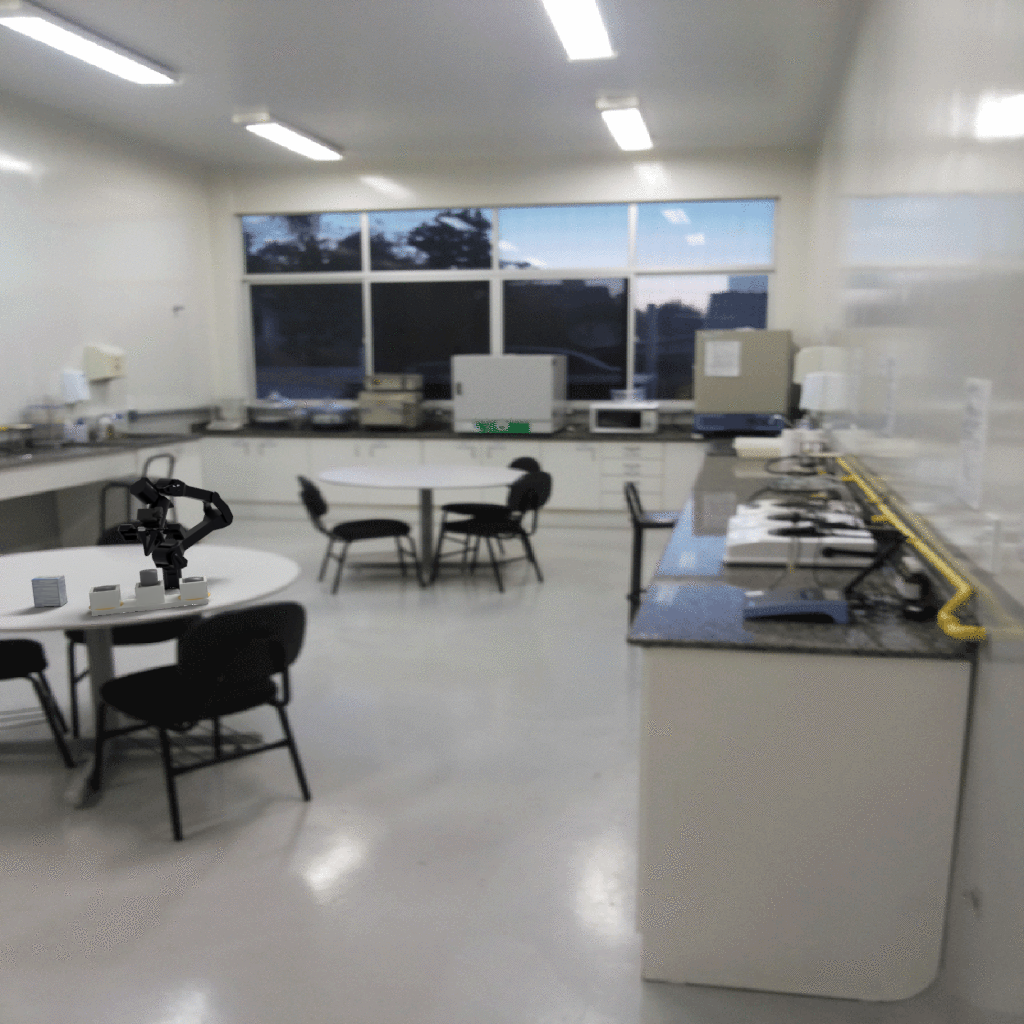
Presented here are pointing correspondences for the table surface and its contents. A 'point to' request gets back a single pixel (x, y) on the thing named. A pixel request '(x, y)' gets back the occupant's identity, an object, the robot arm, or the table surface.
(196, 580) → the button
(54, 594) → the medicine box
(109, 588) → the button
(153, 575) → the button
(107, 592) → the button board
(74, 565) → the table surface
